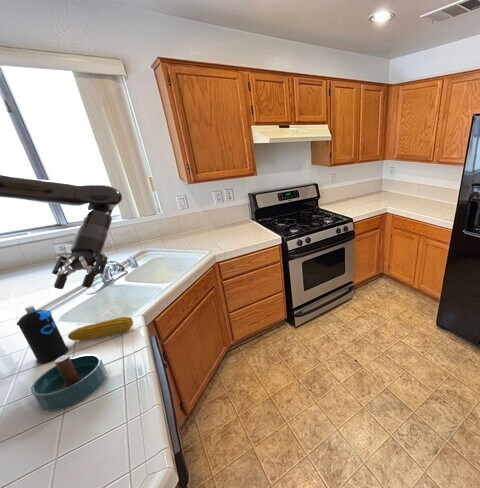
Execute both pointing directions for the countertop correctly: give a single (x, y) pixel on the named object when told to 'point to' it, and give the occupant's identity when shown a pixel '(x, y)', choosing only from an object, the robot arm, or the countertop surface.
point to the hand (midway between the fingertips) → (72, 287)
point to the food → (101, 329)
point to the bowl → (55, 397)
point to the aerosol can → (42, 335)
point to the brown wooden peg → (67, 371)
